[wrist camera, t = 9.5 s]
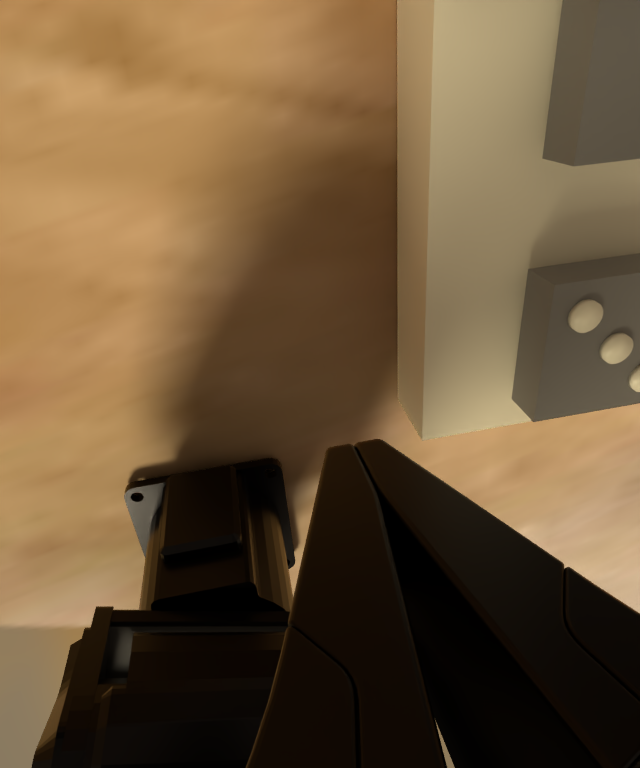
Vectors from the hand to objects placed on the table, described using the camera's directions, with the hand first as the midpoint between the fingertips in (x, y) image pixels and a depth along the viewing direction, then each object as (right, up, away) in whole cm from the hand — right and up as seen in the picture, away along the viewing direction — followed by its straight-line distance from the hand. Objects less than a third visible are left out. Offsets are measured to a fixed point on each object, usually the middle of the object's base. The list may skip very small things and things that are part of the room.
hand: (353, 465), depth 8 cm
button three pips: (+8, +3, +10) cm, 13 cm away
